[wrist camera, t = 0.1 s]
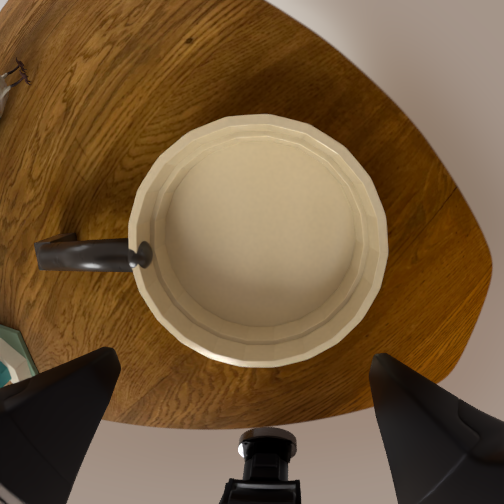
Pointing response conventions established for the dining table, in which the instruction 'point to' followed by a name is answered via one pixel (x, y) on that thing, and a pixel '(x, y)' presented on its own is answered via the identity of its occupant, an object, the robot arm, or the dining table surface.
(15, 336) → the mat
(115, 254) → the pan handle
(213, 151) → the pan
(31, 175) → the dining table surface
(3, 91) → the decorative bird
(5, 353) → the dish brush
